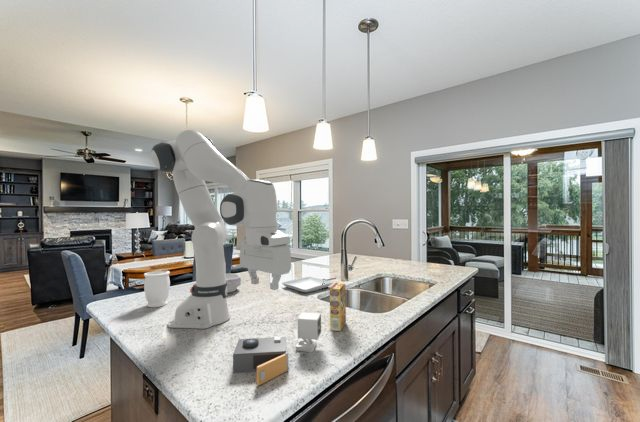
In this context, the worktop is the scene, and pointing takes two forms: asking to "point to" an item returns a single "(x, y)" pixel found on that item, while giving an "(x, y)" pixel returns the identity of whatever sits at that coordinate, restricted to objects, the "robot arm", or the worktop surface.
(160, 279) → the jar
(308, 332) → the security camera
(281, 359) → the door
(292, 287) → the salad plate
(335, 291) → the candy box
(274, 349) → the grey knob box
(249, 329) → the worktop surface
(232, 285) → the paper bowls
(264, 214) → the robot arm
